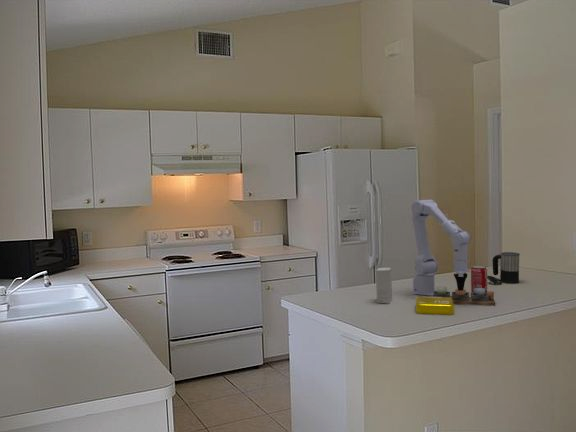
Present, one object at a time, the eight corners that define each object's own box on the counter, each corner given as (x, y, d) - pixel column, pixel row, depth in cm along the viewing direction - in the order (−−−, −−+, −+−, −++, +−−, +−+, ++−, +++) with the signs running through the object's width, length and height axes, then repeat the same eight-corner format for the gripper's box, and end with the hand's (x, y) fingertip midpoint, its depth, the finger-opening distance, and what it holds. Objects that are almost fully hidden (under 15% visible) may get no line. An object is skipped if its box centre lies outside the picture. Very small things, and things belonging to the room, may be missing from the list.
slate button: (474, 296, 244) (474, 289, 244) (474, 294, 248) (474, 287, 248) (485, 296, 243) (485, 290, 243) (484, 294, 247) (484, 287, 247)
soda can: (488, 296, 257) (488, 268, 256) (471, 295, 259) (472, 267, 258) (486, 292, 264) (486, 265, 263) (470, 292, 266) (470, 265, 264)
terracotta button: (455, 297, 246) (455, 290, 246) (455, 295, 251) (455, 288, 250) (465, 298, 245) (465, 291, 245) (465, 295, 249) (465, 289, 249)
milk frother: (521, 281, 289) (521, 252, 287) (515, 287, 275) (515, 256, 274) (492, 278, 296) (492, 250, 295) (485, 284, 283) (485, 255, 282)
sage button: (436, 295, 249) (436, 288, 248) (436, 292, 253) (436, 286, 252) (446, 295, 247) (446, 288, 247) (446, 293, 252) (446, 286, 251)
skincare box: (389, 303, 247) (389, 270, 245) (376, 303, 249) (375, 269, 247) (392, 299, 255) (391, 267, 253) (378, 299, 256) (378, 266, 255)
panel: (427, 302, 247) (427, 292, 247) (428, 297, 257) (428, 287, 256) (495, 305, 239) (495, 294, 239) (493, 300, 249) (493, 289, 249)
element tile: (452, 307, 240) (452, 296, 240) (454, 316, 226) (454, 304, 226) (416, 305, 244) (416, 295, 244) (415, 314, 229) (415, 303, 229)
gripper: (470, 262, 238) (470, 294, 240) (469, 257, 252) (469, 287, 253) (453, 262, 240) (453, 293, 242) (453, 256, 254) (453, 286, 255)
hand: (460, 290), depth 248 cm, fingers closed, pressing on terracotta button
